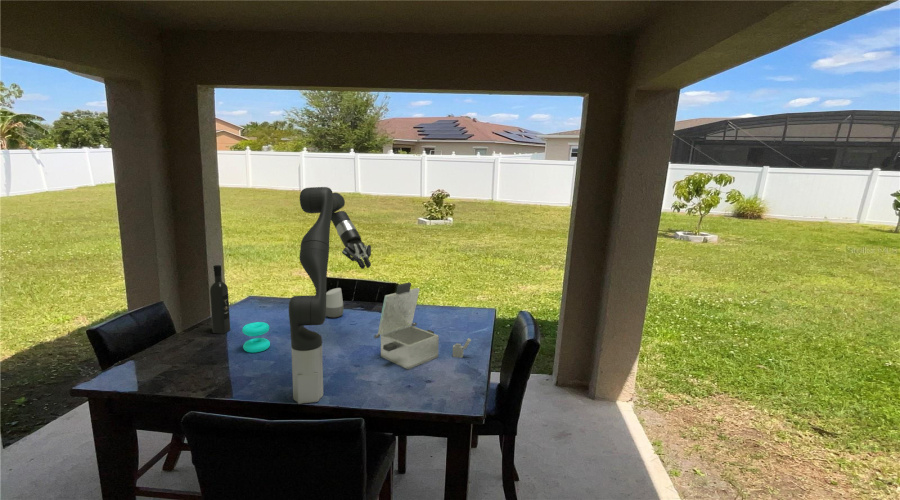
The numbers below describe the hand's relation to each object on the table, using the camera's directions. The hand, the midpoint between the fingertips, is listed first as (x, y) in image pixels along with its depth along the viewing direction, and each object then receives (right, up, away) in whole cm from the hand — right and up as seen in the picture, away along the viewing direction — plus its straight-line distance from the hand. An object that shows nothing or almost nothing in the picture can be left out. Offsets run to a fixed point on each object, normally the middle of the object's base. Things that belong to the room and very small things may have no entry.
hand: (366, 267), depth 175 cm
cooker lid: (+14, -16, -3) cm, 22 cm away
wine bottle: (-68, -30, +19) cm, 76 cm away
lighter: (+38, -36, -2) cm, 53 cm away
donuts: (-45, -33, +1) cm, 56 cm away
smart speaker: (-25, -26, +44) cm, 57 cm away
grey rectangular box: (+18, -35, -3) cm, 40 cm away
